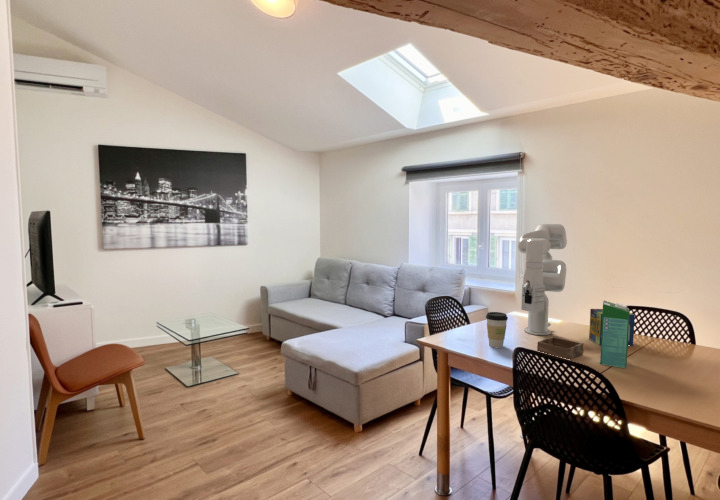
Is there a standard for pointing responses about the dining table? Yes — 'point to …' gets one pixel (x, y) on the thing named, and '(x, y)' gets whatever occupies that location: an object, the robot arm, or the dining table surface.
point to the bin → (561, 347)
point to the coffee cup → (496, 328)
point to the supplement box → (534, 299)
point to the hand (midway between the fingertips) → (533, 302)
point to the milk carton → (614, 334)
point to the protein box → (596, 326)
